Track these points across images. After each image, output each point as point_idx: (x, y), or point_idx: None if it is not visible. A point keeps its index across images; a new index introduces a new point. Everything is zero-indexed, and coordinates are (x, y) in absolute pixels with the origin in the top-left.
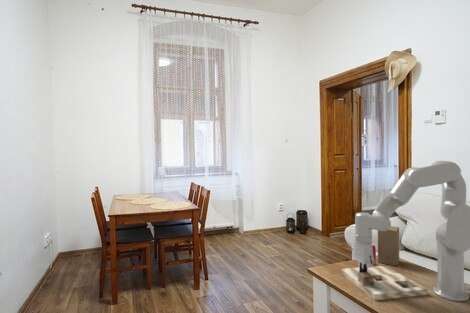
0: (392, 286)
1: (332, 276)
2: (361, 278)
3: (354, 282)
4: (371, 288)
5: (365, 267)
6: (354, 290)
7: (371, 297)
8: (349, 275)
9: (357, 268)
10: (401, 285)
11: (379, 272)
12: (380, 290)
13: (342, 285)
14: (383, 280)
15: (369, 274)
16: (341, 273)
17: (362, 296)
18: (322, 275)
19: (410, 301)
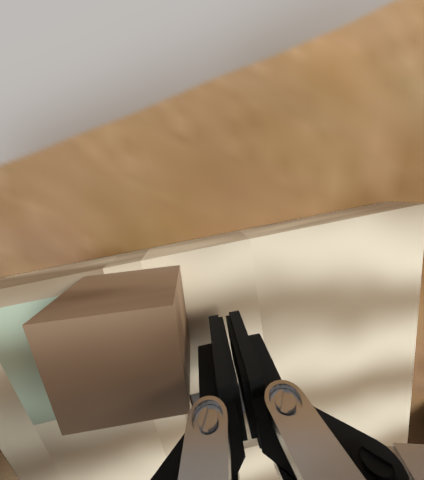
0: (95, 455)
1: (355, 113)
2: (95, 296)
3: (207, 239)
4: None
5: (159, 474)
6: (108, 199)
7: (3, 277)
8: (289, 232)
9: (401, 338)
10: None
11: None
12: (10, 369)
13: (191, 135)
14: None
15: (118, 411)
16: (382, 203)
17: (12, 222)
18: (390, 19)
19: (3, 456)
